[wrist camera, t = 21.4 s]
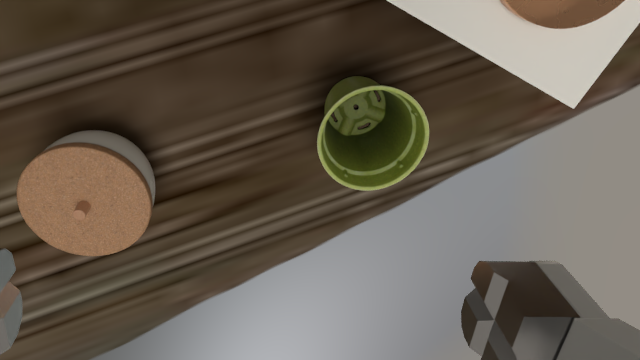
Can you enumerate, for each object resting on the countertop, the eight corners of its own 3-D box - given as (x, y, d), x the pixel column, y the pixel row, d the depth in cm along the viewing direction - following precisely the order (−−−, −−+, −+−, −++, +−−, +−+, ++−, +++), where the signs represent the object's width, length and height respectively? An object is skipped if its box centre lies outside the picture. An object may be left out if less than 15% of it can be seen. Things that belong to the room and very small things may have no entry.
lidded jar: (157, 112, 47) (137, 153, 39) (171, 210, 52) (155, 265, 44) (37, 114, 46) (-10, 157, 38) (62, 214, 51) (25, 271, 43)
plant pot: (416, 124, 51) (444, 160, 43) (332, 165, 52) (346, 208, 44) (380, 40, 47) (405, 65, 39) (290, 87, 48) (297, 119, 40)
